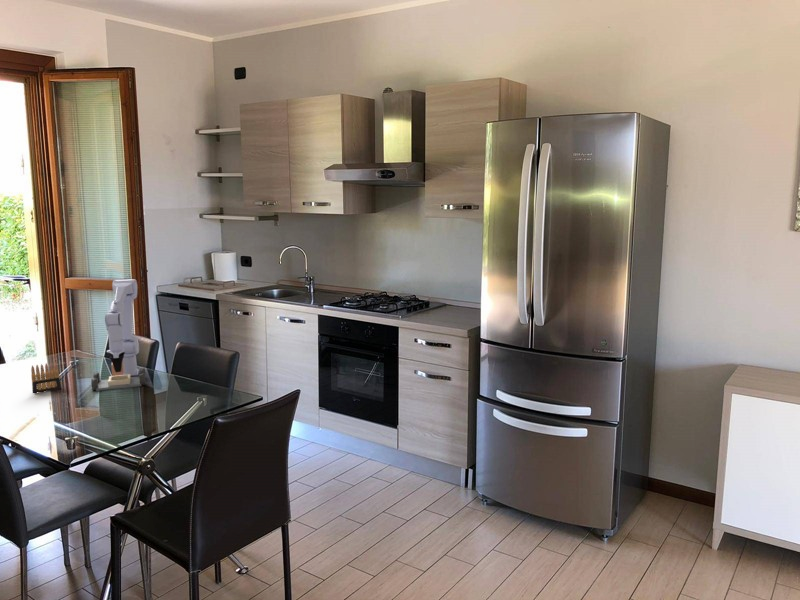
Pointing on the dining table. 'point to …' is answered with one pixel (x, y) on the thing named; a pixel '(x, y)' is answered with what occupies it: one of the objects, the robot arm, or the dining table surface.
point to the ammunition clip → (48, 381)
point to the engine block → (117, 372)
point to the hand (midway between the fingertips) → (118, 370)
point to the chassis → (118, 381)
